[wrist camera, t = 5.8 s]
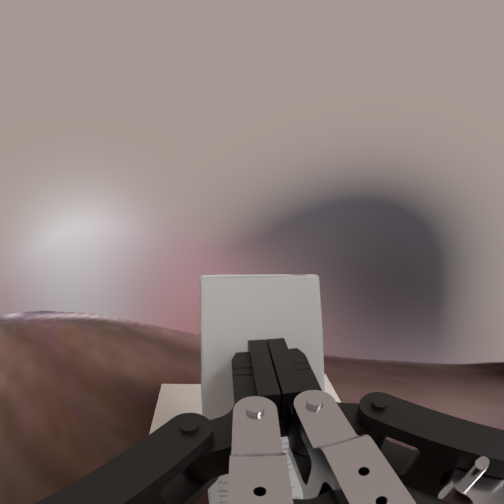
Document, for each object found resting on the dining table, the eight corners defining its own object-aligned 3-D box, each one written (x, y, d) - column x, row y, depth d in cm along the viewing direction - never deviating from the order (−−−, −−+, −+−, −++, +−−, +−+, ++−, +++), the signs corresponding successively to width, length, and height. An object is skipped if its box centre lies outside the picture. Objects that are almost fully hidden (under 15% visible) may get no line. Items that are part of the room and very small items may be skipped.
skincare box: (218, 485, 16) (206, 300, 21) (298, 479, 16) (287, 296, 21) (213, 546, 8) (191, 268, 13) (330, 533, 9) (320, 264, 13)
